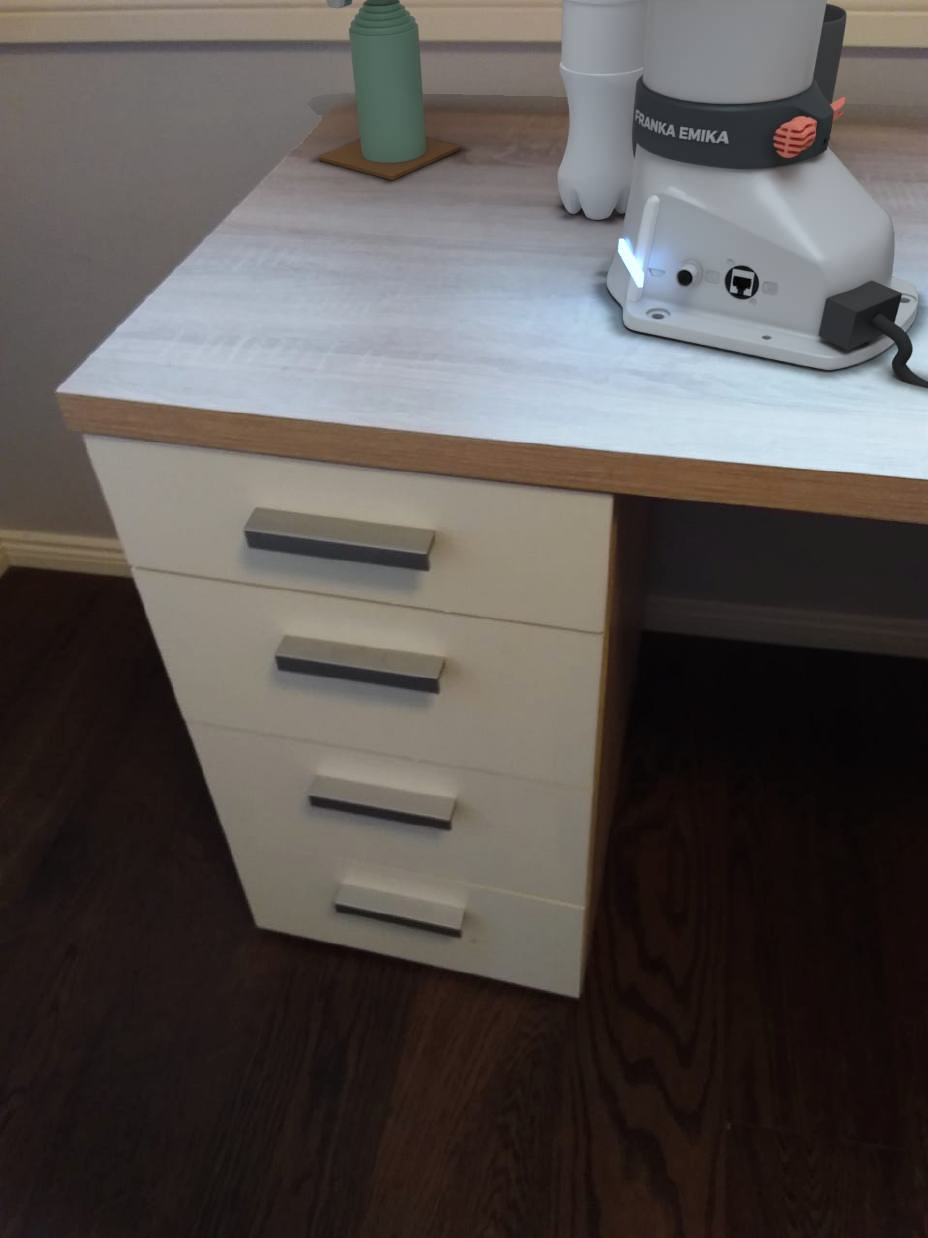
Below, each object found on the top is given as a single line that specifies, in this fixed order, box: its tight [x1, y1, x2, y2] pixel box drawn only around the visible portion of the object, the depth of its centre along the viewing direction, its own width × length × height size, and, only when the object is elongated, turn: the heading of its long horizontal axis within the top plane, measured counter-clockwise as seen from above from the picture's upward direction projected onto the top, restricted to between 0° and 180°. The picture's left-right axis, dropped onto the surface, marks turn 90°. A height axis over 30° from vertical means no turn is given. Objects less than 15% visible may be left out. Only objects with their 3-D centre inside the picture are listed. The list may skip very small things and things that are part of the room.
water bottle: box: [556, 0, 648, 221], centre depth 80 cm, size 7×7×25 cm
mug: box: [813, 3, 848, 104], centre depth 94 cm, size 14×9×12 cm
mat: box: [318, 137, 461, 181], centre depth 101 cm, size 10×10×1 cm
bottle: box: [348, 0, 426, 163], centre depth 95 cm, size 6×6×15 cm
